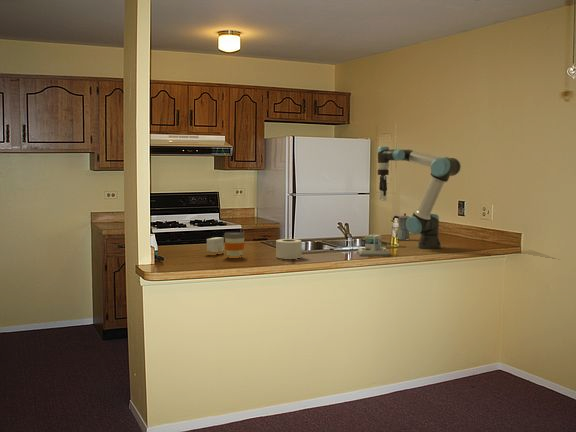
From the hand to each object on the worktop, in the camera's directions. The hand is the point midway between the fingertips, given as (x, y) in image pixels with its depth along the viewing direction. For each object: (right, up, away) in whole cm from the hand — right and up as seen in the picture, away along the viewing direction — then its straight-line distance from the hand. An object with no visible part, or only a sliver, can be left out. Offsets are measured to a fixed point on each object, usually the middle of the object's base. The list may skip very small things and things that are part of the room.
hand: (382, 200), depth 433 cm
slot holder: (-12, -35, -38) cm, 53 cm away
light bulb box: (-12, -34, -38) cm, 53 cm away
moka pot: (+20, -29, +35) cm, 50 cm away
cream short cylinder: (-65, -37, -54) cm, 92 cm away
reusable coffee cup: (-98, -37, -52) cm, 117 cm away
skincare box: (-111, -36, -38) cm, 123 cm away
